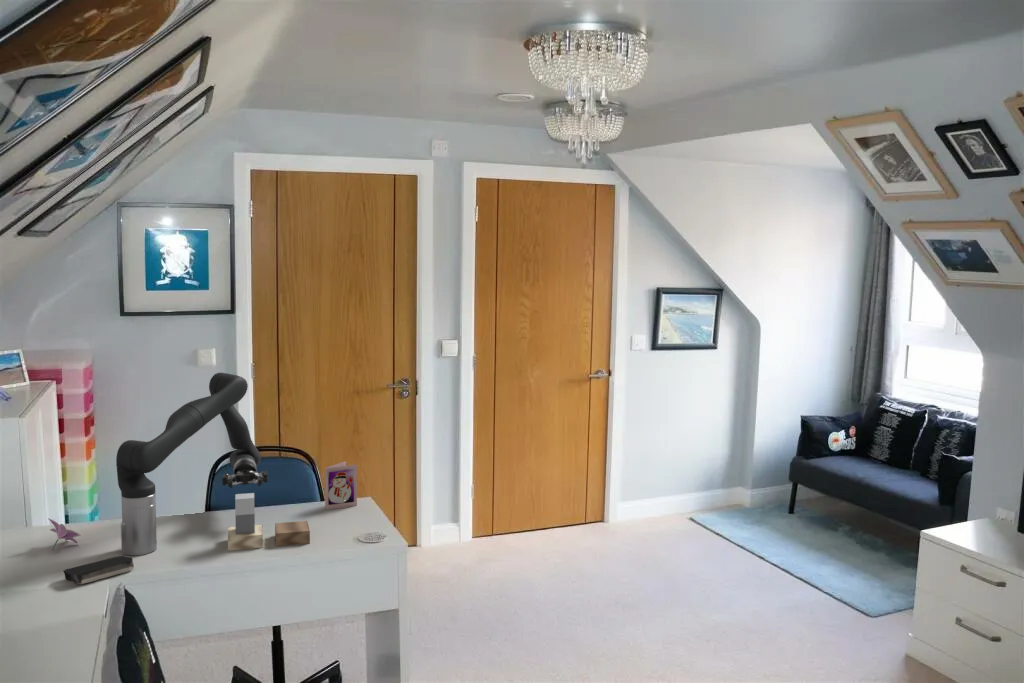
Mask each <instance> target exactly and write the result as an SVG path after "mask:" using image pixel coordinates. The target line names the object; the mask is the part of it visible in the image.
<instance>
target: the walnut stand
mask: <svg viewBox="0 0 1024 683" xmlns="http://www.w3.org/2000/svg"><path fill="white" fill-rule="evenodd" d="M274 534H275V535H274V537H275V546H276V547H283V546H295V545H306V544H310V543H311V539H310V538H311V536H310V535H311V530H310V526H309V523H308V520H301V521H290V522H289V521H288V522H287V521H285V522H275V523H274Z"/></svg>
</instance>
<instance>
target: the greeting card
mask: <svg viewBox="0 0 1024 683" xmlns="http://www.w3.org/2000/svg"><path fill="white" fill-rule="evenodd" d="M357 466H358V464H350V465H347V460H345V461H342V462H339V463H336V464H333V465H329V466H326V467H325V468H324V475H325V476H324V484H325V485H324V487H325V488H324V490H325V492H324V496H325V497H324V502H325V503H324V505H325V506H324V510H333V509H339V508H348V507H354V506H355V507H356V506H358V502H357V501H358V467H357ZM344 500H346V501H344Z"/></svg>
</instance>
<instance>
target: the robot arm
mask: <svg viewBox="0 0 1024 683" xmlns="http://www.w3.org/2000/svg"><path fill="white" fill-rule="evenodd" d="M248 385H249V384H248V382H247V380H246V379H245V378H244V377H242V376H239V375H237V374H231V373H226V372H217V373H214V374H213V375H212V377H210V380H209V383H208V389H209V394H210V395H208V396H206V397H200V398H197V399H193V400H191V401H189V402H187V403H185V404H183V405H182V406H181V407H179V408H177V410H175V411H174V412H173V413H172V414H171V415H170V416H169V417H168V419H167V422H166V425H165V429H164V431H163V432H162V433H160V434H159V435H158V436H157V437H155V438H153V439H152V440H149V441H144V440H134V439H130V440H126V441H123V442H122V443H121V445H119V447H118V449H117V452H116V459H115V460H116V461H115V462H116V463H115V464H116V474H117V475H116V476H117V477H116V478H117V485H118V488H119V490H120V492H121V493H120V495H121V496H120V497H121V523H120V541H121V542H120V543H121V556H124V555H126V556H127V555H128V556H142V555H143V556H144V555H147V554H150V553H152V552H155V551H156V550H157V548H158V542H157V541H158V540H157V505H156V504H157V503H156V501H157V497H156V484H155V483H154V482H153V481H152V480H151V479H149V478H148V477H147V475H146V474H148V473H151V472H153V471H155V470H156V469H157V468H158V467H159V466H160V465H161V464H162V463H163V462H164V461H165V460H167V458H168V457H169V456H170V455H171V454H172V453H173V452H174V451H175V450H177V448H179V447H180V446H181V445H182V444H183V443H185V442H186V441H187V440H188V439H190V438H191V437H192V436H194V435H195V434H196V433H198V432H199V431H200V430H201V429H203V428H204V427H205V426H206V425H207V424H208V423H209V422H211V421H212V420H214V419H215V418H216V417H217V416H220V417H221V419H222V421H223V424H224V425H225V428H226V432H227V436H228V440H229V444H230V446H231V448H232V449H233V450H234V451H232V452H231V453H230V455H229V464H230V466H231V468H232V469H233V472H232V474H231V475H230V474H228V473H227V472H224V473H223V474H222V476H221V478H222V479H221V483H222V484H221V486H227V487H228V488H230V489H233V485H234V486H237V485H239V484H240V485H241V486H247V485H250V484H257V487H261V485H263V483H269V474H268V471H267V470H265V469H264V470H263V471H261V472H258V470H257V466H259V464H260V463H261V461H262V459H261V458H262V457H261V453H260V451H259V450H258V448H257V447H256V445H255V444H254V442H253V441H252V438H251V434H250V430H249V427H248V423H247V422H246V420H245V419H244V417H243V416H242V414H241V413H240V412H239V411H238V410H237V407H235V405H236V404H237V403H239V402H240V401H242V399H243V398H244V397H245V396H246V393H247V392H248V389H249V388H248V387H249V386H248Z"/></svg>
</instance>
